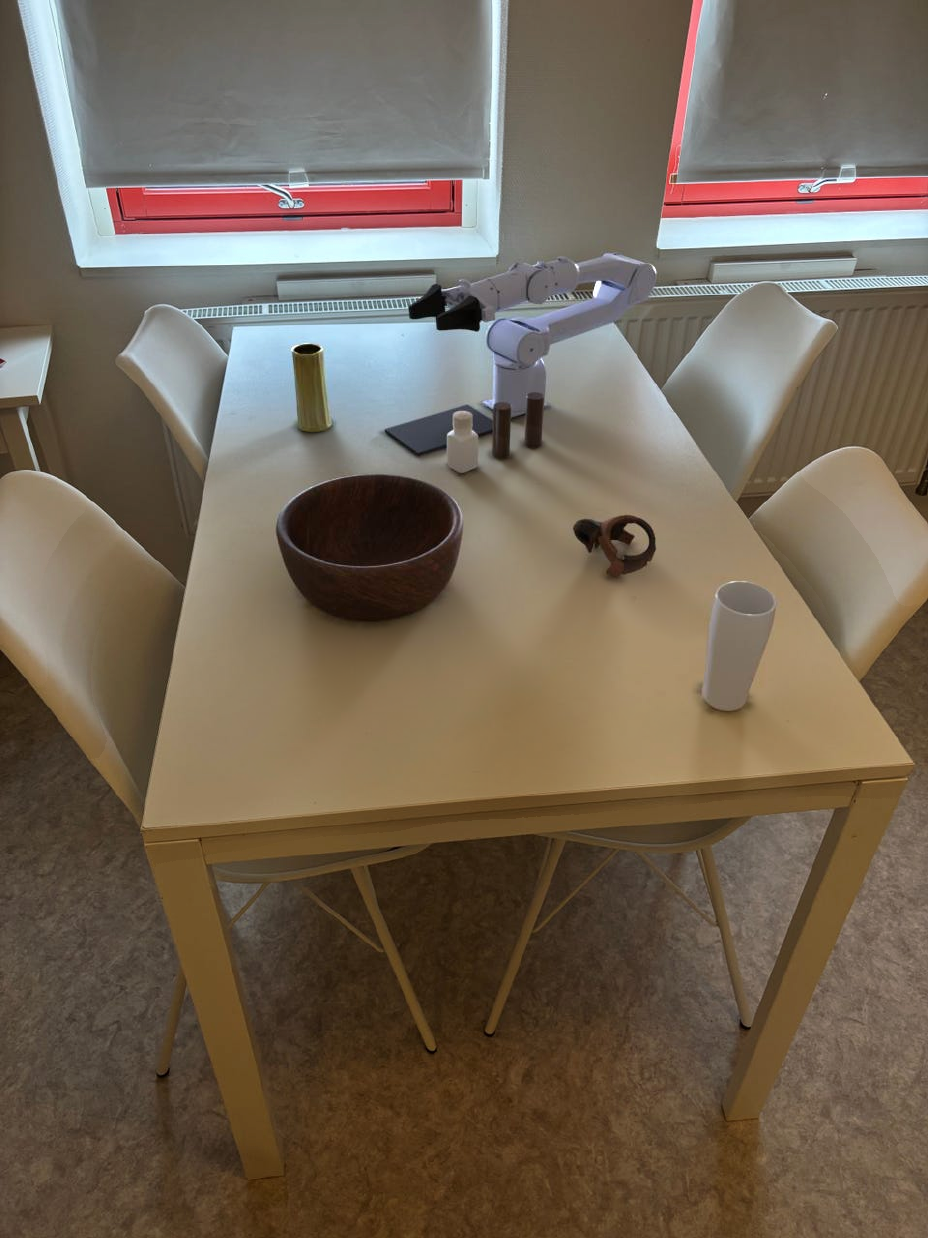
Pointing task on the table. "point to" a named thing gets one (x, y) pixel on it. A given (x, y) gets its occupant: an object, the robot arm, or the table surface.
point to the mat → (436, 430)
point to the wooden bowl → (370, 544)
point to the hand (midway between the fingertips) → (423, 318)
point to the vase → (310, 388)
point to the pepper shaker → (462, 443)
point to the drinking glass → (736, 642)
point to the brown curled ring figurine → (614, 530)
